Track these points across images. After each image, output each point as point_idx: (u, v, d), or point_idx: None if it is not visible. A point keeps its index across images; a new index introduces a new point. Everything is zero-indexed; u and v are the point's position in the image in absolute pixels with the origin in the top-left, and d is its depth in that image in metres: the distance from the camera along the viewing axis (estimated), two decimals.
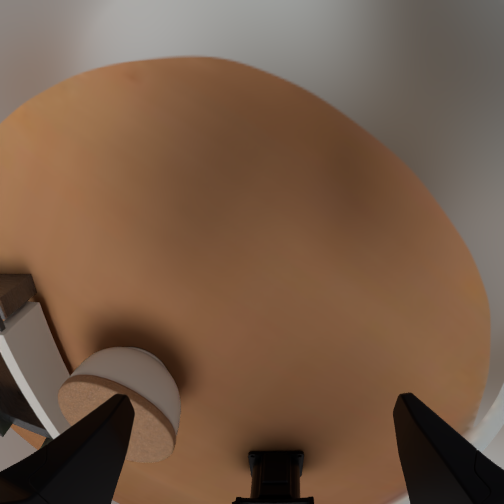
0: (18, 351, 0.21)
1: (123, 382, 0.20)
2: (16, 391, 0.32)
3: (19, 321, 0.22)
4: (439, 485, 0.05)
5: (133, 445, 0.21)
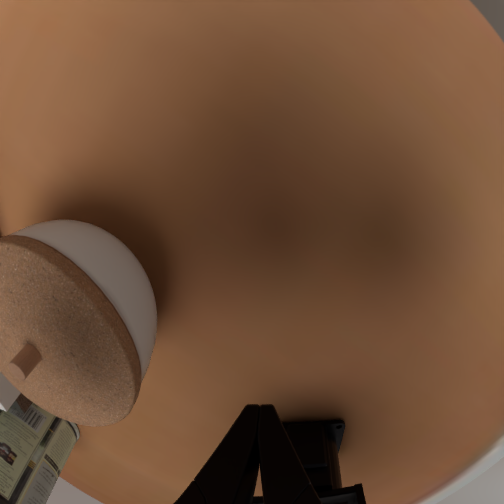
0: None
1: (52, 243, 0.11)
2: None
3: None
4: None
5: (69, 386, 0.12)
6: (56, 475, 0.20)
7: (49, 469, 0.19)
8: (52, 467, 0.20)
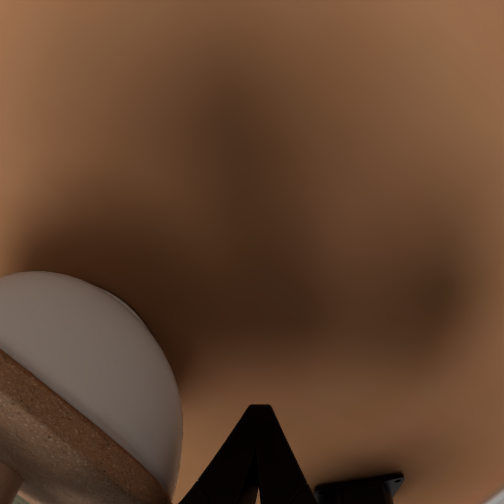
0: None
1: (1, 338, 0.05)
2: None
3: None
4: None
5: None
6: None
7: None
8: None
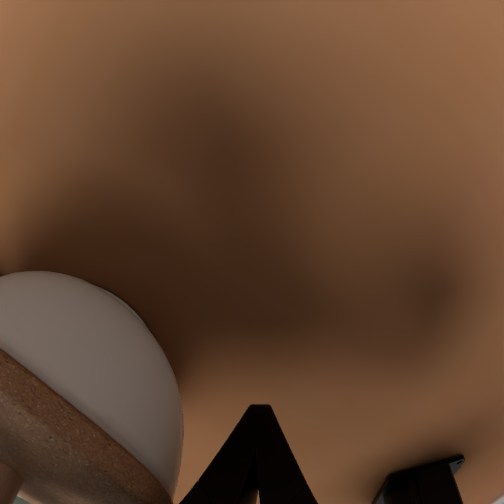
0: None
1: (2, 338, 0.05)
2: None
3: None
4: None
5: None
6: None
7: None
8: None
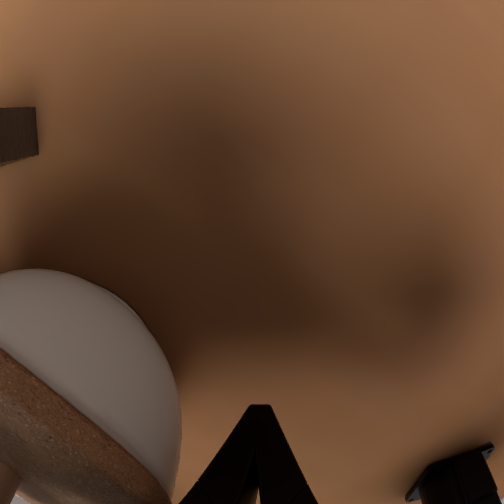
0: None
1: (1, 337, 0.05)
2: None
3: None
4: None
5: None
6: None
7: None
8: None
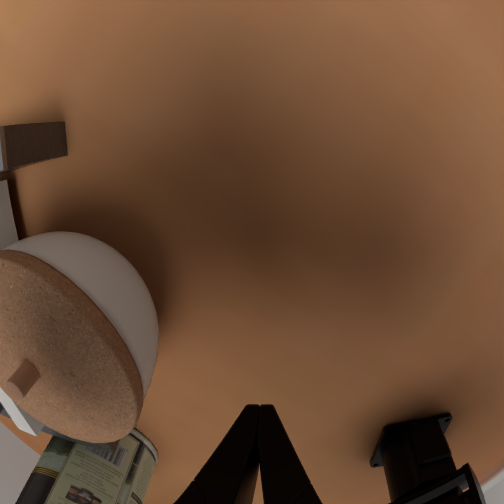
0: None
1: (49, 259, 0.10)
2: None
3: None
4: None
5: (68, 405, 0.11)
6: None
7: None
8: None
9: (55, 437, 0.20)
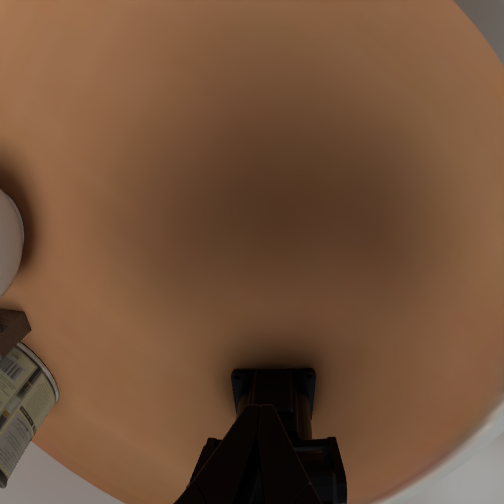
0: None
1: None
2: None
3: None
4: None
5: None
6: (31, 431, 0.21)
7: (23, 422, 0.20)
8: (27, 421, 0.21)
9: None
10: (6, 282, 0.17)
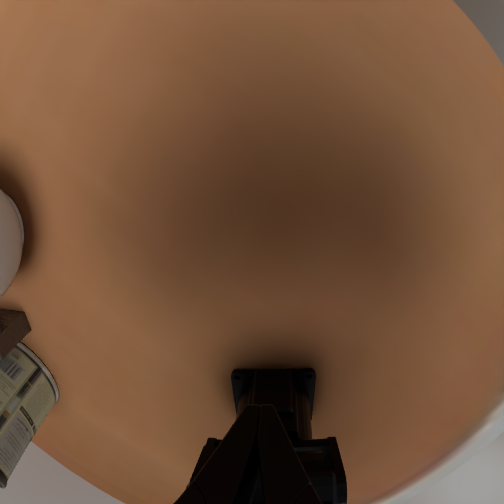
0: None
1: None
2: None
3: None
4: None
5: None
6: (31, 431, 0.21)
7: (23, 422, 0.20)
8: (27, 421, 0.21)
9: None
10: (6, 282, 0.17)
